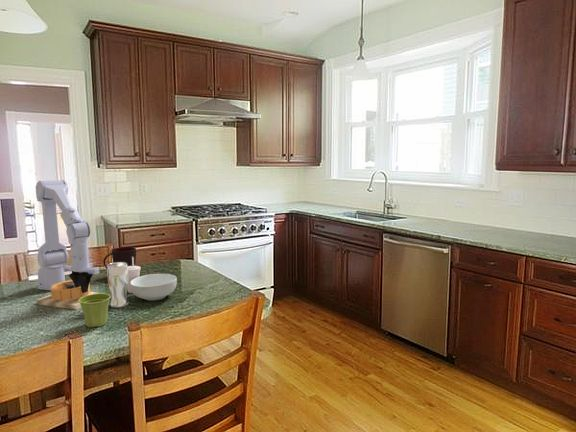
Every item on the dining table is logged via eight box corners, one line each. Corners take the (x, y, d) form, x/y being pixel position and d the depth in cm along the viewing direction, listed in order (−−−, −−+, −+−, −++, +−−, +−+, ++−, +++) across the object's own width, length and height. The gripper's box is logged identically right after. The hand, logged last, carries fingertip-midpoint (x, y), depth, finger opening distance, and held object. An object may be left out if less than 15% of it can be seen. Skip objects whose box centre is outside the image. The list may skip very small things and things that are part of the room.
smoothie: (136, 294, 166) (134, 259, 164) (121, 293, 167) (119, 258, 165) (144, 289, 172) (143, 255, 170) (130, 288, 173) (128, 254, 171)
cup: (140, 275, 191) (139, 249, 189) (108, 281, 182) (106, 254, 181) (132, 271, 199) (131, 245, 197) (101, 276, 190) (99, 250, 188)
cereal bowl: (153, 288, 174) (153, 271, 173) (186, 293, 167) (185, 276, 166) (121, 300, 159) (120, 282, 158) (155, 307, 152) (154, 288, 151)
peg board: (36, 303, 155) (35, 287, 154) (67, 292, 169) (66, 276, 168) (76, 309, 150) (74, 292, 149) (104, 297, 163) (103, 281, 162)
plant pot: (73, 326, 135) (71, 300, 134) (97, 316, 144) (95, 291, 142) (95, 331, 131) (93, 304, 130) (118, 321, 140) (117, 295, 139)
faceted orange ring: (43, 297, 155) (42, 288, 154) (70, 287, 167) (70, 278, 166) (71, 301, 151) (70, 292, 151) (97, 290, 163) (96, 281, 162)
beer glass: (117, 309, 150) (115, 267, 148) (105, 305, 154) (102, 265, 152) (134, 303, 156) (131, 263, 154) (121, 300, 160) (119, 260, 157)
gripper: (104, 254, 156) (106, 290, 158) (72, 251, 161) (75, 286, 163) (89, 259, 150) (92, 296, 152) (57, 255, 154) (60, 292, 156)
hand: (82, 291), depth 157 cm, fingers closed on faceted orange ring, 2 cm apart
